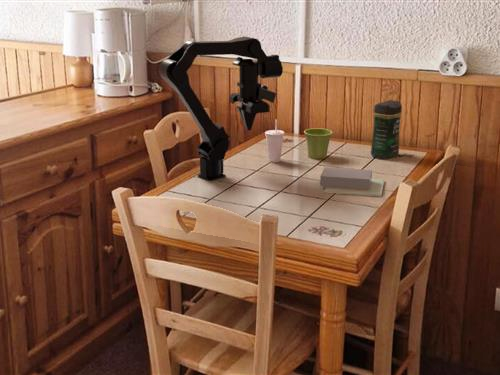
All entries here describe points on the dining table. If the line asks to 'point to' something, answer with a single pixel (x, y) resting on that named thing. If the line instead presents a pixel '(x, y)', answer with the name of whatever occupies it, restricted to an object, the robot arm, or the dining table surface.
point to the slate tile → (346, 178)
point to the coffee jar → (386, 129)
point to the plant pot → (317, 142)
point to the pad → (374, 190)
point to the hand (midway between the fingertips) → (248, 130)
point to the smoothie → (274, 143)
